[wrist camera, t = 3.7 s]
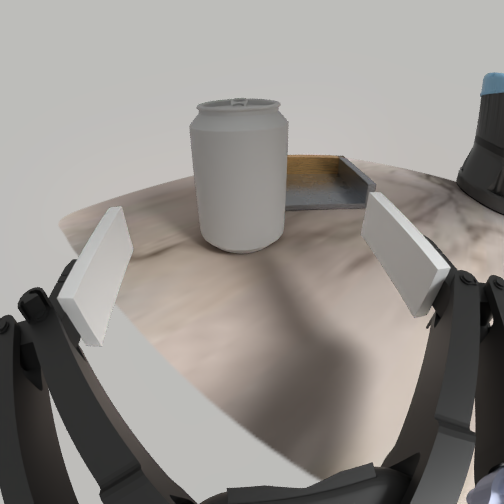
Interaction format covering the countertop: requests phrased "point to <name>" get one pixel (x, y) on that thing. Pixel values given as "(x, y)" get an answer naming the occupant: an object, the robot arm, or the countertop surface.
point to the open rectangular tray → (325, 183)
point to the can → (240, 172)
